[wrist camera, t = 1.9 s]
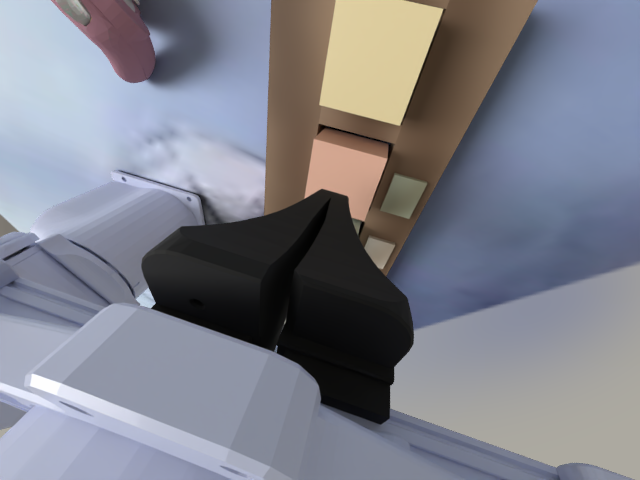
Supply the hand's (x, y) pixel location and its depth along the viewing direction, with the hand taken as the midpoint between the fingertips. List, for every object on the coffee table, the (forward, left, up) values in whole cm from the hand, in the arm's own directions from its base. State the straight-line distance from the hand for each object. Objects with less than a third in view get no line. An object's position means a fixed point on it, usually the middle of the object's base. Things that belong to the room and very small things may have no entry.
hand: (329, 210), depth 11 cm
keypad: (0, -6, -8) cm, 10 cm away
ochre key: (0, +6, -6) cm, 8 cm away
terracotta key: (0, 0, -6) cm, 6 cm away
